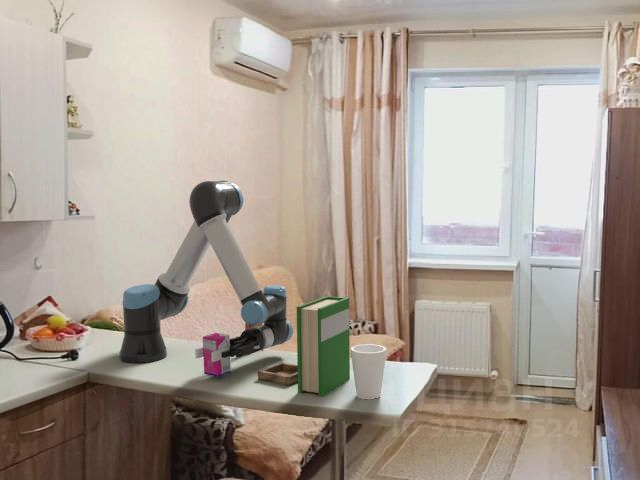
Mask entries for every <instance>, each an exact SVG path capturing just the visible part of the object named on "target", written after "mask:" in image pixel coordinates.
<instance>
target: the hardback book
mask: <svg viewBox="0 0 640 480" xmlns="http://www.w3.org/2000/svg"><path fill="white" fill-rule="evenodd" d="M350 340H351V339H350V297H344V296H343V297H341V296H330V295H329V296H328V295H327V296H323V297H320V298H317V299H315V300H312V301H309V302H306V303H303V304H299V305H298V306H296V345H297V346H296V348H297V351H296V352H297V353H296V354H297V355H296V356H297V358H296V359H297V364H296V365H297V366H298V382H297V393H298V394H302V393H304V392H309V393H316V394H318V397H320V398H321V397H324V396H326V395H327V394H329V393H330V392H332V391H333V390H335V389H336V387H337V388H338V387H340V386H342V385H343V384H344V383H346V382H348V381H349V380H350V378H351V371H350V370H351V367H350V365H351V361H350V360H351V347H350ZM347 380H348V381H347Z"/></svg>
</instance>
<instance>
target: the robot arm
mask: <svg viewBox="0 0 640 480" xmlns="http://www.w3.org/2000/svg"><path fill="white" fill-rule="evenodd" d="M243 204H244V196H243V191H242V189H241V188H240V187H239V186H238V185H237V184H236V183H234V182H231V181H228V180H217V181H216V180H215V181H214V180H213V181H212V180H211V181H210V180H206V181H201V182H200V183H198V184H196V185H195V187H193V189H192V190H191V193H190V195H189V209H190V212H191V215H192V217H193V220H194V221H193V222H192V225H191V226H190V228H189V229H188V231H187V234H186V235H185V236H184V239H183V241H182V242H181V244H180V245H179V248H178V250H177V252H176V253H175V255H174V258H173V259H172V261H171V263H170V265H169V267H168V268H167V271H166V272H163V273H160V274H159V276H158V277H157V279H156V281H155V283H154V284H153V283H152V284H151V283H149V284H148V283H147V284H139V285H133V286H130V287H128V288H127V289H126V290H125V291H124V292H123V293H122V306H123V307H122V309H123V330H124V331H123V333H124V336H123V339H122V344H121V347H120V350H119V360H120V361H122V362H123V363H124V362H125V363H133V364H134V363H140V364H141V363H151V362H156V361H159V360H162V359H164V358H166V357H167V356H168V355H167V354H168V353H167V346H166V345H165V341H164V338H163V336H162V332H161V321H162V320H166V319H169V318H171V317H176V316H177V315H179V314H180V313H181V312H183V311H184V310H185V309H186V307H187V305H188V302H189V293H190V291H191V290H190V289H191V288H190V286H189V285H190V282H191V280H192V279H193V277H194V275H195V273H196V271H197V269H198V268H199V266H200V264H201V262H202V261H203V258H204V257H205V255H206V254H207V251H208V250H209V248H210V246H211V248H212V250H213V251H214V253H215V255H216V258H217V259H218V261H219V263H220V265H221V266H222V269H223V270H224V272H225V274H226V277H227V278H228V280H229V282H230V284H231V286H232V289H233V290H234V292H235V294H236V296H237V298H238V299H239V302H240V304H241V308H240V316H241V319H242V320H243V322H244V323H245V322H246V323H247V324H249V325H257V324H260V323H262V325H261V326H257V327H254V328H251V329H248V330H245V329H244V330H243V332H241V334H240V335H239V336H235V337H233V338H230V350H229V348H224V349H221V350H218V351H214V352H211V356H212V362H215V361H218V360H221V359H224V358H227V357H229V356H230V358H233V357H236V358H241V357H243V356H247V354H249V353H252V354H254V353H257V352H263V351H264V350H266V349H269V348H272V347H275V346H279V345H283V344H284V343H286V342H288V341H290V340H291V339H292V337H293V335H294V328H293V326H292V323H291V322H290V321H289V320H287V302H288V301H287V299H288V296H287V289H286V287H285V286H283V285H277V284H276V285H275V284H274V285H273V284H272V285H266V286H264V287H263V290H262V289H261V286H260V285H259V283H258V281H257V279H256V277H255V275H254V272H253V271H252V269H251V267H250V265H249V263H248V261H247V259H246V257H245V255H244V253H243V251H242V250H241V248H240V246H239V244H238V242H237V240H236V238H235V236H234V234H233V232H232V229H230V228H231V227H230V226H229V221H230V219H231V218H232V217H233V216H235V215H236V214H238V213H239V212H240V211H241V210H242V208H243V206H244V205H243ZM194 350H195V351H194V352H195V353H194V354H195V359H200V358H204V354H203V346H201V347H198V348H195V349H194Z"/></svg>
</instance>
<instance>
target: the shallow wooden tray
mask: <svg viewBox="0 0 640 480" xmlns="http://www.w3.org/2000/svg"><path fill="white" fill-rule="evenodd" d="M257 380H259V381H264V382H266V383H267V382H268V383H273V384H277V385H282V386H287V387H290V386H293V385H295V384H298V366H297V364H293V363H290V362H289V363H288V362H283V361H281V362H278V363H276V364H274V365H271V366H268V367H265V368H262V369H261V370H260V369H259V370H258V371H257Z"/></svg>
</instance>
